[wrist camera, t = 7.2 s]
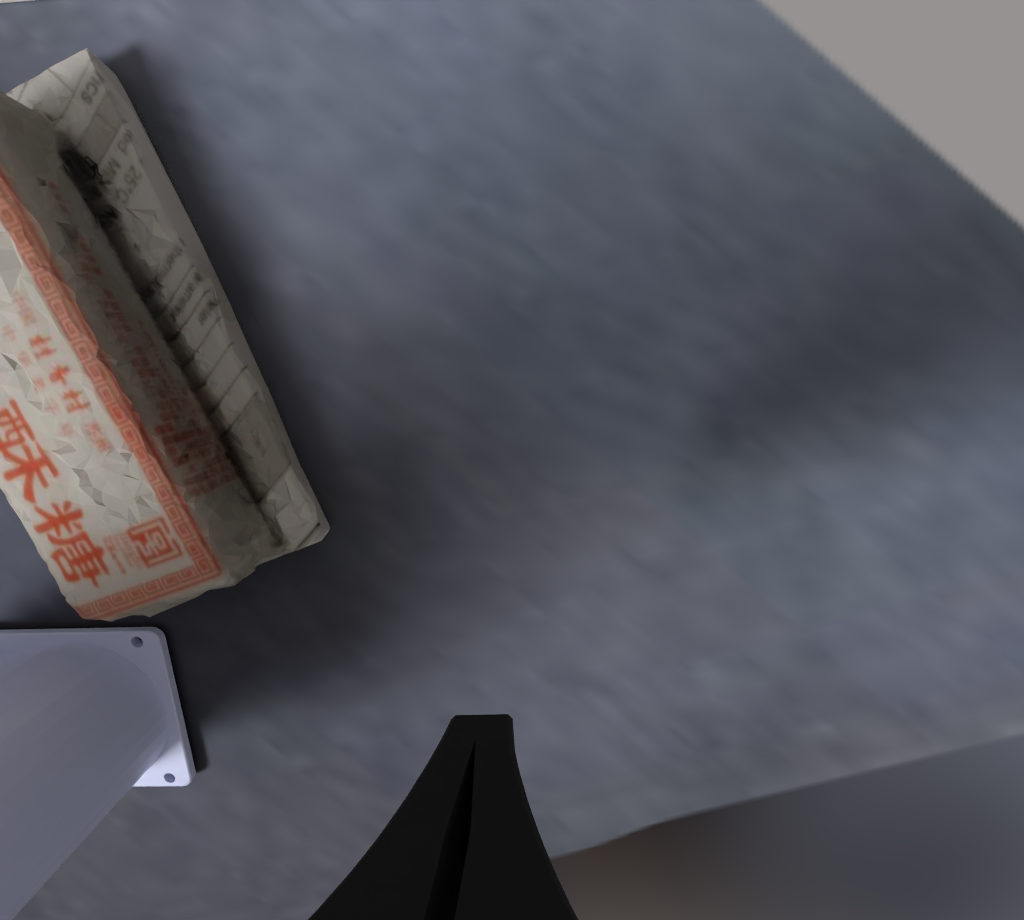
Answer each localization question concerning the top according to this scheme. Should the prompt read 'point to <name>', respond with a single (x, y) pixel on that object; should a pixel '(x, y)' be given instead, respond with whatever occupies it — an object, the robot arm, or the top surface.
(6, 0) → the perforated board
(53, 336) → the packaged product
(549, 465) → the top surface
